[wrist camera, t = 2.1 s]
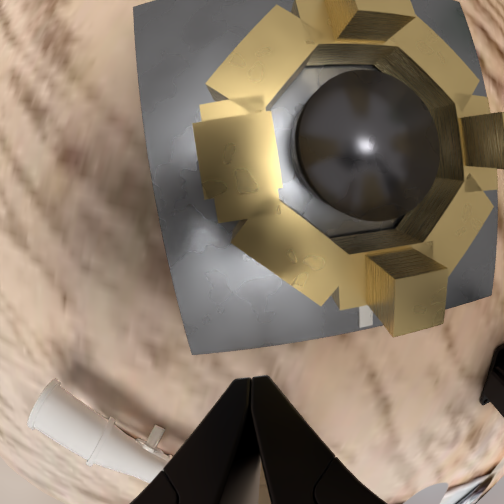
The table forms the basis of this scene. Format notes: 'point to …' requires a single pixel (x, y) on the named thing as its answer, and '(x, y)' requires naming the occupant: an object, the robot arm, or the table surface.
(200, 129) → the octagonal socket base
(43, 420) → the white tapered multi-tube piece
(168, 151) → the cap plate
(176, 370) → the table surface
